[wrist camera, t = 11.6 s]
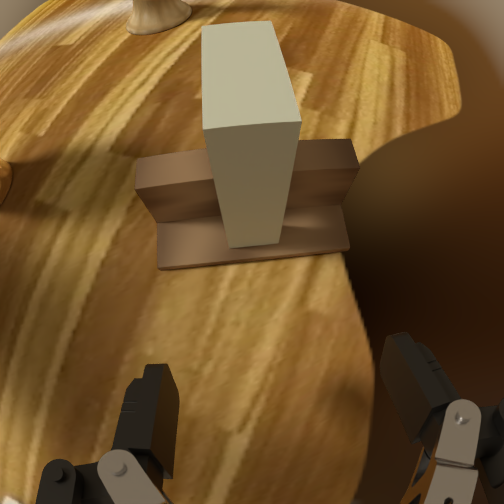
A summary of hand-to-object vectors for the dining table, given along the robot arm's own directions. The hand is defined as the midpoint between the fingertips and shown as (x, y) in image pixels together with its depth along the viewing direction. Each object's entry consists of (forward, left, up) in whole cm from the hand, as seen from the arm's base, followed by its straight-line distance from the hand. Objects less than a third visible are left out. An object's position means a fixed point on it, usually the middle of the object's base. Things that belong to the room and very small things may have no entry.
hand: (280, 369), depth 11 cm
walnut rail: (-8, +6, -7) cm, 13 cm away
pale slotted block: (-8, +6, -7) cm, 12 cm away
